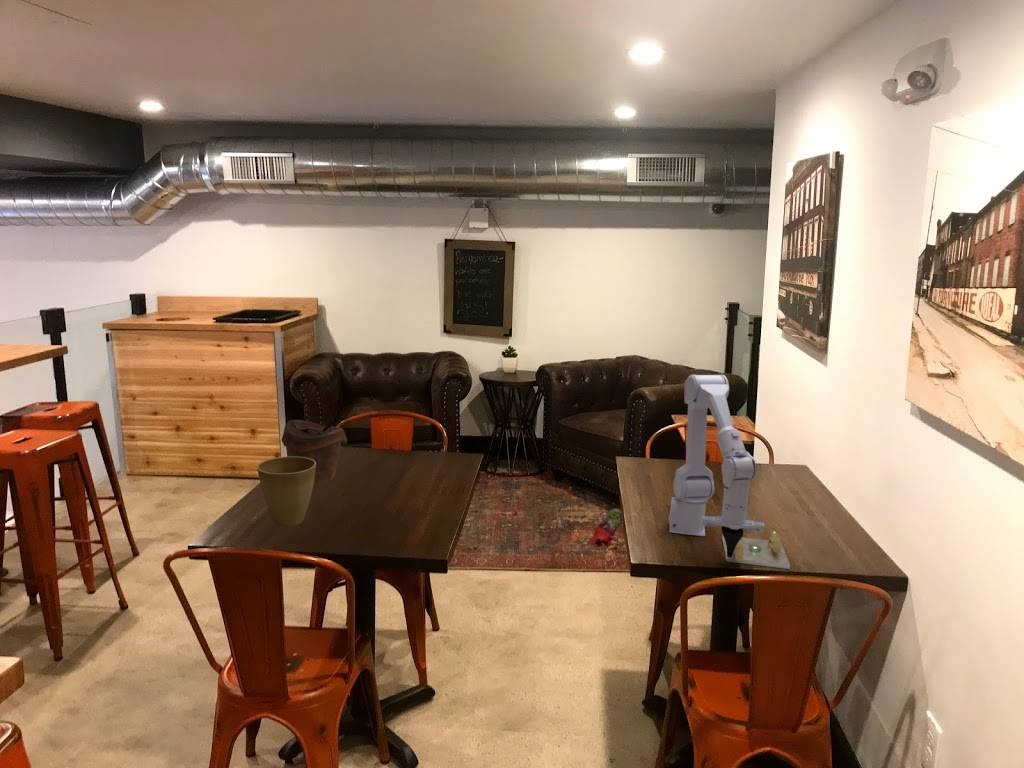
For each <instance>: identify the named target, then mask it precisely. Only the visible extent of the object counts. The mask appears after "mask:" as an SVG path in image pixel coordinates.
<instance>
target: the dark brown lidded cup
mask: <svg viewBox="0 0 1024 768" xmlns="http://www.w3.org/2000/svg"><path fill="white" fill-rule="evenodd" d="M281 443H282V445H283V446H284V447H285V449H286V453H287V457H306V458H310V459H312V460H314V461H315V462H316V469H315V477H314V483H313V484H317V483H325V482H329V481H331V480H333V479H334V478H335V476H336V471H337V465H338V461H339V456H340V451H341V446H342V444H343V445H344V446H345V445H346V444H347V443H348V439H347V436H346V432H345V430H344V429H343V428H341V427H335V426H333V425H331V424H329V425H323V424H321V423H316V422H313V421H306V420H303V419H291V420H288V421H287V422H286V424H285V425H284V429H283V433H282V436H281Z"/></svg>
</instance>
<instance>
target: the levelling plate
mask: <svg viewBox="0 0 1024 768" xmlns="http://www.w3.org/2000/svg"><path fill="white" fill-rule="evenodd" d="M721 538H722V544H723V549H724V550H723V551H724V555H725V561H726V562H727V563H735V564H743V565H744V564H745V565H753V566H761V567H767V568H778V569H785V570H790V567H791V564H790V561H789V558H788V556H787V554H786V551H785V548H784V546H783V543H781V551H780V553H777V552H773V549H772V547H769V546H768V545H767V544H768V541H769V539H760V538H754V537H753V538H750V537H744V536H742V538H741V539H742V545H743V549H744V550H743V559H742V561H738V560H735V556H734V555H732V558H730V557H727V546H726V542H725V539H724V536H723V535H722V537H721Z"/></svg>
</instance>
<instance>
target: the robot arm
mask: <svg viewBox="0 0 1024 768" xmlns="http://www.w3.org/2000/svg"><path fill="white" fill-rule="evenodd" d="M729 393H730V384H729V380H728V378H727V376H725V374H689V376H688V377H687V378H686V380H685V381H684V401H683V402H684V403H685V404H687V423H686V425H687V427H686V448H685V449H686V451H685V452H686V453H685V463H684V464H683V465H682V466H681V467H678V468H677V469H676V470H675V474H674V480H673V483H672V488H673V490H672V491H673V494H674V495H675V497H674V496H672V497H671V498H670V499H671V502H670V510H669V511H670V512H669V516H668V520H667V521H668V524H669V525H668V527H669V529H668V530H669V531H668V532H669V533H673V534H681V535H688V536H698V537H705V536H706V530H705V527H715V528H721V533H722V536H724V539H725V542H726V546H727V557H730V558H732V555H733V552H734V549H735V547H736V545H737V544H738V542H739V541H740V539H741V538H742V537H744V531H751V532H758V533H760V534H764V532H765V523H764V522H759V521H754V520H750V519H747V511H748V510H747V509H748V503H749V501H748V500H749V493H750V492H749V491H750V481H751V480H752V479H753V480H754V478H755V476H756V474H757V464H756V461H755V458H754V457H753V456H752V455H751V454H750V452H749V451H747V450H746V448H745V445H744V442H743V439H742V436H741V435H742V434H741V433H740V430H739V429H737V428H736V427H734V426H733V425H734V424H733V421H732V417H731V413H730V408H729V405H728V400H727V399H728V398H729ZM708 409H709V410H710V413H711V415H712V418H713V420H714V422H715V424H716V427H717V429H718V433H717V434H716V437H715V438H716V442H717V443H718V447H719V450H720V453H721V454H720V455H721V456H722V460H723V461H722V464H721V473H722V484H723V487H724V488H723V496H722V497H723V499H722V507H721V516H720V515H719V516H709V515H708V516H705V515H706V507H707V506H706V505H707V504H706V503H707V502H709V499H710V498H712V497H713V494H714V493H715V481H714V473H713V472H712V470H710V468H708V467H707V466H706V447H707V422H708Z"/></svg>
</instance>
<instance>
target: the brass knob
mask: <svg viewBox="0 0 1024 768" xmlns="http://www.w3.org/2000/svg"><path fill="white" fill-rule="evenodd" d="M768 540H769V541H768V544H767V545H768V546H769V547H772V549H773V552H777V553H780V551H781V543H782V538H781V537H780V531H779V530H774V529H771V530H770V531H769V538H768ZM782 544H783V543H782Z"/></svg>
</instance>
